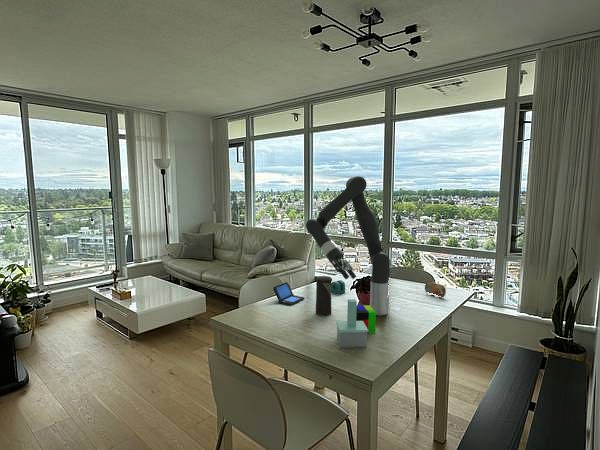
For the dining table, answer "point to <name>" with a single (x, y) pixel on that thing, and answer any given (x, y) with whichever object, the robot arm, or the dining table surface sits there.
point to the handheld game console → (286, 295)
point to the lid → (351, 320)
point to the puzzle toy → (367, 317)
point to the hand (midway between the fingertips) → (351, 278)
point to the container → (323, 295)
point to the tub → (352, 339)
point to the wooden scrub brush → (435, 288)
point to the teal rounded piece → (338, 287)
